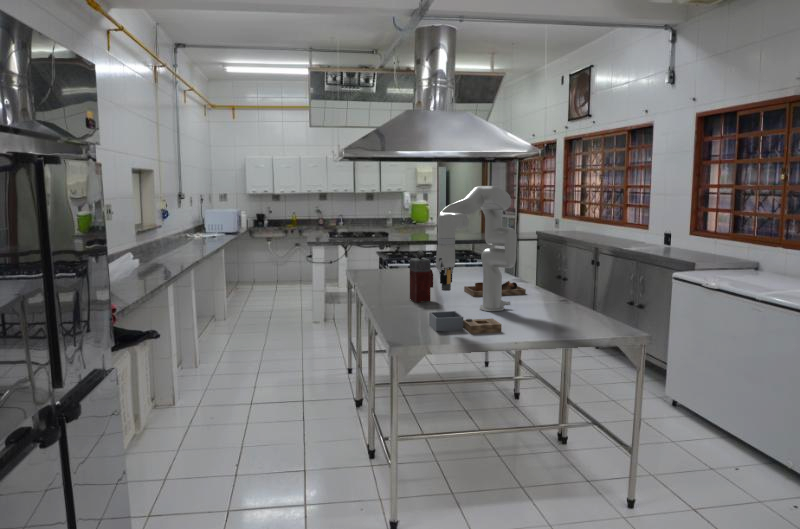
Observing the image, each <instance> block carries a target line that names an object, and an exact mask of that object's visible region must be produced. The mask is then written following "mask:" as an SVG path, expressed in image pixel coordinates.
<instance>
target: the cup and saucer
mask: <svg viewBox="0 0 800 529" xmlns="http://www.w3.org/2000/svg"><path fill="white" fill-rule="evenodd" d="M474 286H475V289H473V291H483V282H475V283H474Z"/></svg>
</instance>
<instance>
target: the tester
mask: <svg viewBox="0 0 800 529" xmlns="http://www.w3.org/2000/svg"><path fill="white" fill-rule="evenodd" d="M463 330H466V331H467V332H468V333H469V335H470V334H471V335H474V334H491V333H502V323H501V322H498V321H497V320H496V319H494V318H479V319H475V318H473V319H472V318H466V319H463Z"/></svg>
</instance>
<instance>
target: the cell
mask: <svg viewBox="0 0 800 529" xmlns="http://www.w3.org/2000/svg"><path fill="white" fill-rule="evenodd" d="M442 270H444V269H442ZM446 275H447V284H441V291H443V292H447V291H448V292H449V291H451V290H452V285H451V284H452V283H451V270H449V268H447V271H446Z"/></svg>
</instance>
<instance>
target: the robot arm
mask: <svg viewBox="0 0 800 529" xmlns="http://www.w3.org/2000/svg"><path fill="white" fill-rule="evenodd" d="M511 205H512V197H511V195H510V194H509V192H507V191H506V190H504V189H502V188H500V187H499V186H496V185H479V186H475V187H473V189H472V190H470V192H469V193H468V194H467V195H465V197H464V198H463V199H460V200H458V201H456V202H454V203H453V202H452V203H450V204H448V205H446V206H445V207H444V208H443V209H442V210H441V211H440V213H439V214H438V216H437V220H436V223H437V247H436V256H435V267H436V269H437V271H438V272H439V283H440V284H441V285H442V284H447V275H446V271H447V268H448V269H449V270H451V284H452V283H453V272H454V271H453V270H454V268H455V266H456V247H455V246H456V230H457V231H458V230H459V231H460V230H462V231H463V230H465V229H466V228H467V227H468V226H469V222H470V220H469V219H470V218H469V217H468V216H470V215H474V214H475V213H477V212H478V211H479V209H480V210H481V211H482V213H483V215H484V218H485V219H484V220H485V221H484V222H485V223H484V229H485V230H484V241H485V243H486V244H487V245H488V246H498V247H504V248H498V247H489V248H485V249H484V250H483V251H482V252H481V264H482V283H483V296H482V305H480V306H479V310H481V311H485V312H501V311H504V310H505V306H511V301H505V300H502V296H503V295H502V284H503V283H502V282H503V276H502V272H501V270H500V269H499V268H502V269H512V268H513V267H514V266H515V264H516V262H517V243H518V242H517V241H518V239H517V238H518V236H517V232H516V230H515V229H514V228H512V227H507V226H505V227H504V226H503V216H502V214H501V211H506V210H508V209H510V207H511ZM443 269H444V270H443Z"/></svg>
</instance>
